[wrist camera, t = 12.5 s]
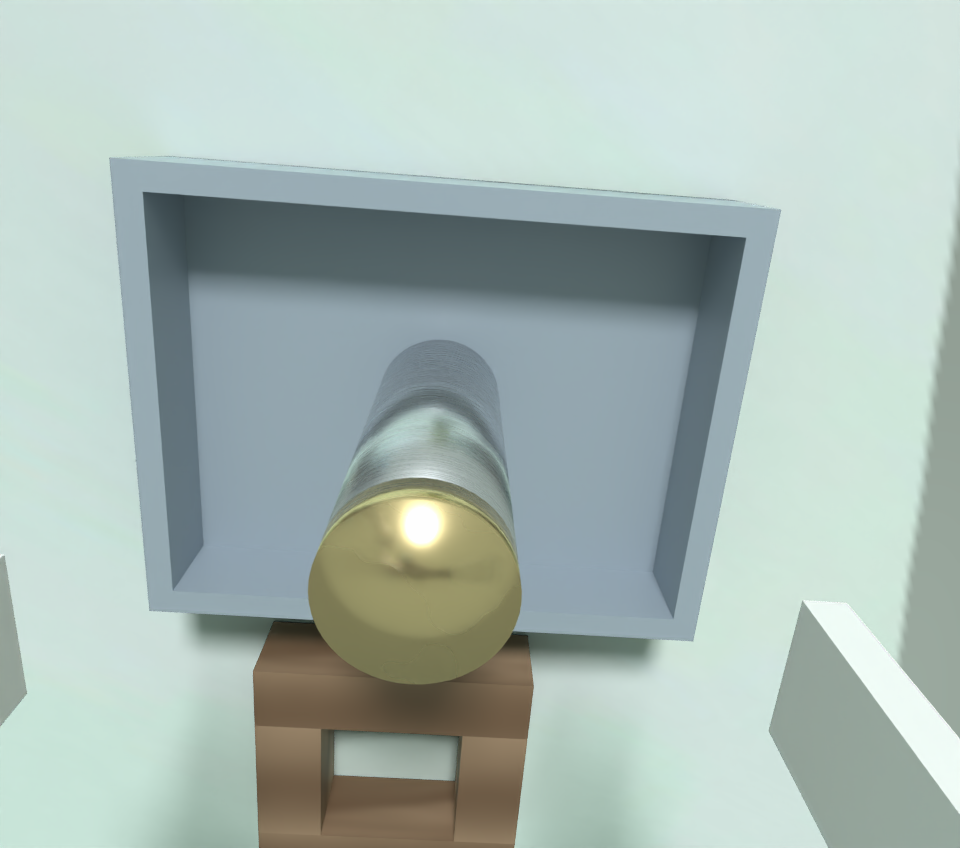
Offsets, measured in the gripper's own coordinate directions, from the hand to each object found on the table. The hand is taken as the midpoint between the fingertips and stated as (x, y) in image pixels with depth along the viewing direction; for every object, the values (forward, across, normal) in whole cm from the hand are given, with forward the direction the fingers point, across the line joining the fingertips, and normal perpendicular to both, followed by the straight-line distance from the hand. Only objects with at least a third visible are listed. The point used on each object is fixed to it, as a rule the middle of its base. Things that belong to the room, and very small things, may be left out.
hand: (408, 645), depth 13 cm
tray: (+14, 0, 0) cm, 15 cm away
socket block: (+14, -1, -15) cm, 21 cm away
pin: (+14, 0, 0) cm, 14 cm away
